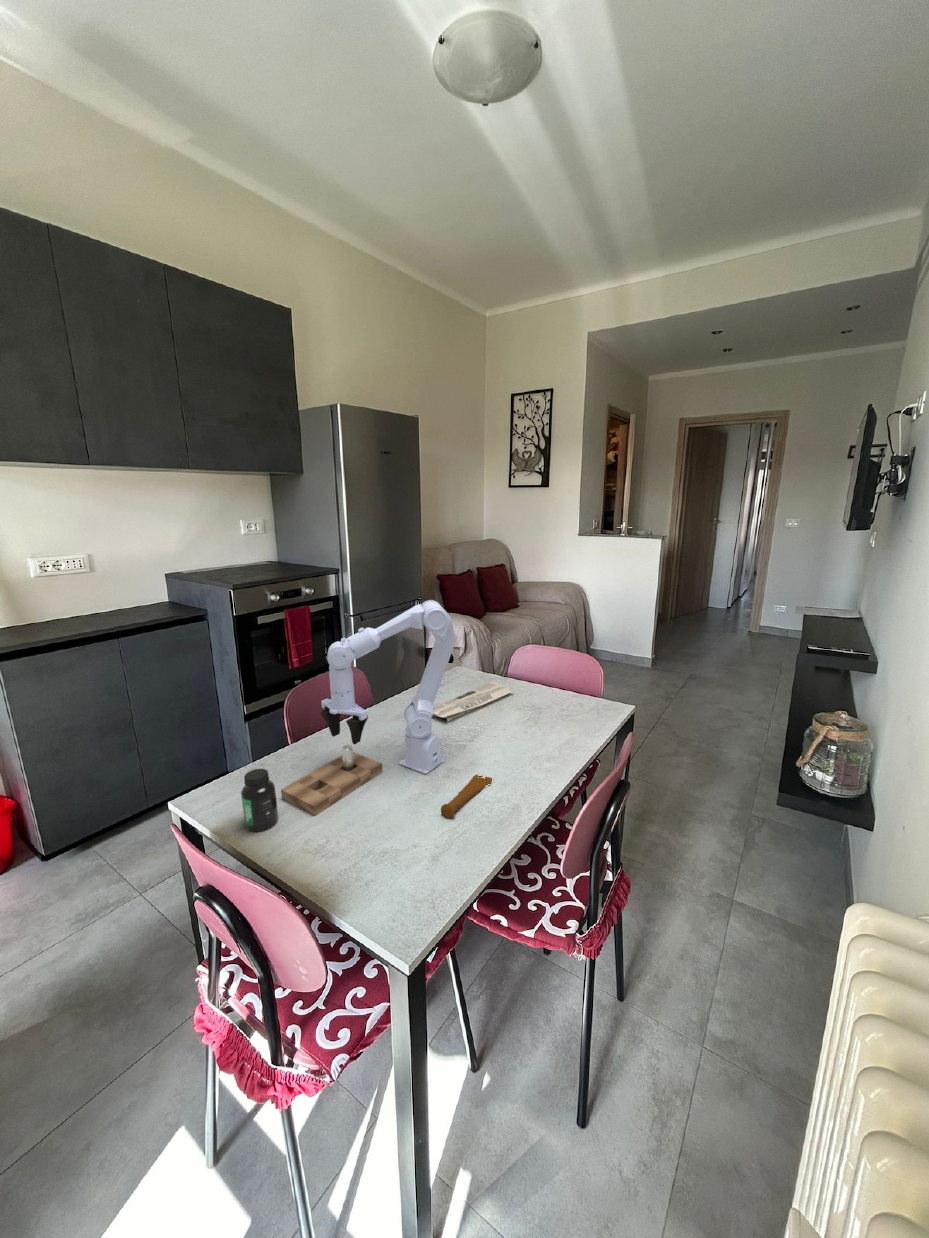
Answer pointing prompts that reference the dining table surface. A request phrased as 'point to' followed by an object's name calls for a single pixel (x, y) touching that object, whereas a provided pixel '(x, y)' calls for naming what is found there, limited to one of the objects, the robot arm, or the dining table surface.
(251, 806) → the supplement bottle
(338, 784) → the tool stand
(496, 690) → the newspaper
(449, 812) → the primitive tool
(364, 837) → the dining table surface
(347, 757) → the steel peg
